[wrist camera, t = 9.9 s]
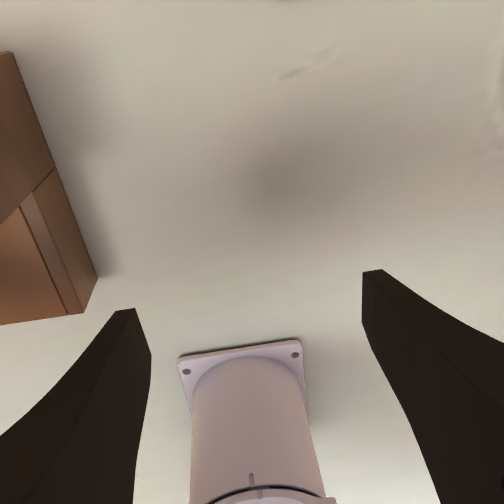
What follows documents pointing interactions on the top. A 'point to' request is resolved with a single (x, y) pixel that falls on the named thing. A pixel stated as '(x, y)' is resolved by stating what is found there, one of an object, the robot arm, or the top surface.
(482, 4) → the top surface
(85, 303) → the step rack
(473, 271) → the top surface
